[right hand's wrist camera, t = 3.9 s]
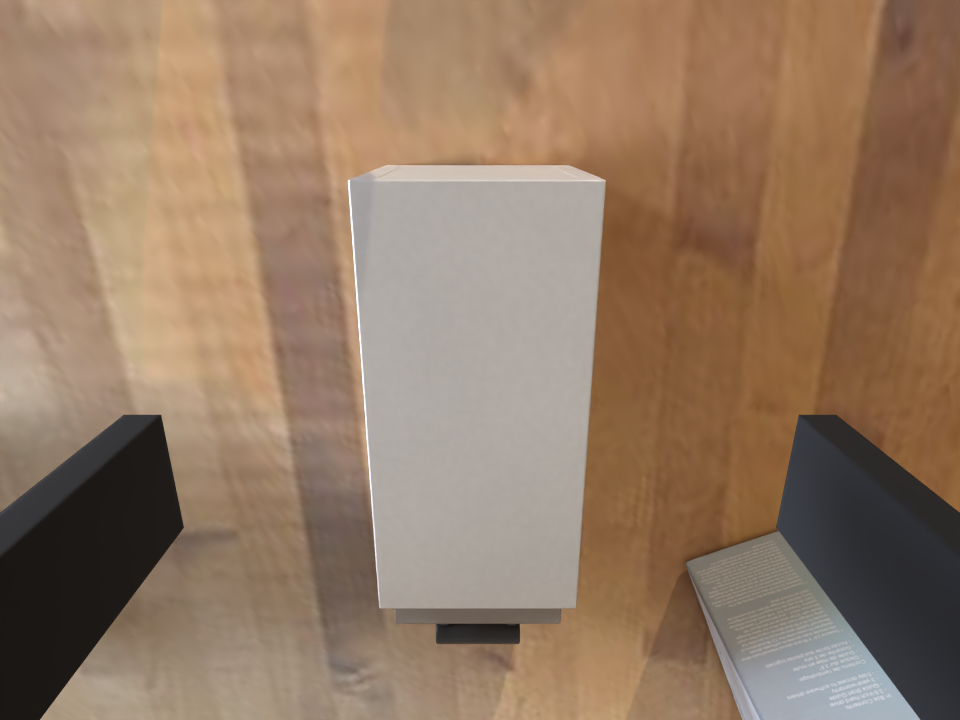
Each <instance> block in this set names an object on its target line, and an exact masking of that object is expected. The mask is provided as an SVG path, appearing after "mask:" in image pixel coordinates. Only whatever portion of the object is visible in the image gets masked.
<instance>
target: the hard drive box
mask: <svg viewBox="0 0 960 720" xmlns="http://www.w3.org/2000/svg"><path fill="white" fill-rule="evenodd" d="M686 566H687V570H688V572H689V575H690V578H691V580H692V583H693V586H694V588H695V591H696V594H697V597H698V599H699V602H700V605H701V607H702V610H703V613H704V615H705V618H706V621H707V624H708V627H709V630H710V632H711V635H712V638H713V641H714V643H715V646H716V649H717V652H718V654H719V657H720V660H721V663H722V666H723V668H724V671H725V674H726V677H727V679H728V682H729V685H730V687H731V690H732V693H733V696H734V698H735V701H736V704H737V706H738V709H739V712H740V714H741V716H742V719H743V720H920V719H919V717H918V716H917V715H916V713H915V712H914V711H913V709H912V708H911V707H910V705H909V704H908V703H907V701H906V700H905V699H904V697H903V696H902V695H901V693H900V692H899V691H898V689H897V688H896V687H895V685H894V684H893V683H892V681H891V680H890V679H889V677H888V676H887V675H886V673H885V672H884V671H883V669H882V668H881V667H880V665H879V664H878V663H877V661H876V660H875V659H874V657H873V656H872V655H871V653H870V652H869V651H868V649H867V648H866V647H865V645H864V644H863V643H862V641H861V640H860V639H859V637H858V636H857V635H856V633H855V632H854V631H853V629H852V628H851V627H850V625H849V624H848V623H847V621H846V620H845V619H844V617H843V616H842V615H841V613H840V612H839V611H838V609H837V608H836V607H835V605H834V604H833V603H832V601H831V600H830V599H829V597H828V596H827V595H826V593H825V592H824V591H823V589H822V588H821V587H820V585H819V584H818V583H817V581H816V580H815V579H814V577H813V576H812V575H811V573H810V572H809V571H808V569H807V568H806V567H805V565H804V564H803V563H802V561H801V560H800V559H799V557H798V556H797V555H796V553H795V552H794V551H793V549H792V548H791V547H790V545H789V544H788V543H787V541H786V540H785V539H784V537H783V536H782V535H781V533H780V532H779V531H777V532H773V533H770V534H768V535H765V536H762V537H759V538H756V539H753V540H750V541H746V542H743V543H740V544H737V545H734V546H731V547H728V548H725V549H722V550H719V551H716V552H714V553H711V554H708V555H705V556H702V557H699V558H696V559H693V560H690V561H688V562H687V563H686Z"/></svg>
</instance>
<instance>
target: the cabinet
mask: <svg viewBox="0 0 960 720" xmlns="http://www.w3.org/2000/svg"><path fill="white" fill-rule="evenodd" d="M348 185H349V199H350V213H351V226H352V240H353V254H354V268H355V281H356V295H357V309H358V322H359V336H360V350H361V364H362V377H363V391H364V405H365V418H366V432H367V446H368V460H369V473H370V487H371V501H372V514H373V528H374V542H375V556H376V569H377V583H378V597H379V608H380V609H575V608H576V600H577V586H578V572H579V558H580V544H581V529H582V515H583V501H584V487H585V473H586V459H587V444H588V430H589V416H590V402H591V388H592V373H593V359H594V345H595V331H596V317H597V303H598V288H599V274H600V260H601V246H602V232H603V218H604V203H605V189H606V180H604V179H601V178H600V177H597V176H595V175H592V174H590V173H587V172H585V171H582V170H579V169H577V168H574V167H572V166H569V165H386V166H384V167H381V168H378V169H376V170H373V171H370V172H368V173H365V174H363V175H360V176H357V177H355V178H353V179H350V180H349V181H348Z"/></svg>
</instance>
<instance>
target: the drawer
mask: <svg viewBox="0 0 960 720" xmlns="http://www.w3.org/2000/svg"><path fill="white" fill-rule="evenodd" d="M394 615H395V623H396V624H436V643H437V644H519V643H520V624H559V623H560V622H561V609H394Z"/></svg>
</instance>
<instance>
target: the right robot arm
mask: <svg viewBox="0 0 960 720" xmlns="http://www.w3.org/2000/svg"><path fill="white" fill-rule="evenodd" d="M183 528H184V526H183V521H182V516H181V511H180V506H179V501H178V496H177V491H176V487H175V482H174V477H173V472H172V467H171V462H170V457H169V452H168V447H167V442H166V437H165V432H164V427H163V422H162V417H161V415H123V416H122V417H121V418H119V419H118V420H117V421H116V422H114V423H113V424H112V425H111V426H109V427H108V428H107V429H105V430H104V431H103V432H102V433H100V434H99V435H98V436H97V437H95V438H94V439H93V440H92V441H90V442H89V443H88V444H87V445H85V446H84V447H83V448H81V449H80V450H79V451H78V452H76V453H75V454H74V455H73V456H71V457H70V458H69V459H68V460H66V461H65V462H64V463H63V464H61V465H60V466H59V467H58V468H56V469H55V470H54V471H52V472H51V473H50V474H49V475H47V476H46V477H45V478H44V479H42V480H41V481H40V482H39V483H37V484H36V485H35V486H34V487H32V488H31V489H30V490H28V491H27V492H26V493H25V494H23V495H22V496H21V497H20V498H18V499H17V500H16V501H15V502H13V503H12V504H11V505H10V506H8V507H7V508H6V509H5V510H3V511H2V512H1V513H0V720H40V719H41V717H42V716H43V715H44V713H45V712H46V711H47V709H48V708H49V707H50V705H51V704H52V703H53V701H54V700H55V699H56V697H57V696H58V695H59V693H60V692H61V691H62V689H63V688H64V687H65V685H66V684H67V683H68V681H69V680H70V679H71V677H72V676H73V675H74V673H75V672H76V671H77V669H78V668H79V667H80V665H81V664H82V663H83V661H84V660H85V659H86V657H87V656H88V655H89V653H90V652H91V651H92V649H93V648H94V647H95V645H96V644H97V643H98V641H99V640H100V639H101V637H102V636H103V635H104V633H105V632H106V631H107V629H108V628H109V627H110V625H111V624H112V623H113V621H114V620H115V619H116V617H117V616H118V615H119V613H120V612H121V611H122V609H123V608H124V607H125V605H126V604H127V603H128V601H129V600H130V599H131V597H132V596H133V595H134V593H135V592H136V591H137V589H138V588H139V587H140V585H141V584H142V583H143V581H144V580H145V579H146V577H147V576H148V575H149V573H150V572H151V571H152V569H153V568H154V567H155V565H156V564H157V563H158V561H159V560H160V559H161V557H162V556H163V555H164V553H165V552H166V551H167V549H168V548H169V547H170V545H171V544H172V543H173V541H174V540H175V539H176V537H177V536H178V535H179V533H180V532H181V531H182V529H183ZM776 528H777V529H778V531H779V532H780V533H781V535H782V536H783V537H784V539H785V540H786V541H787V543H788V544H789V545H790V547H791V548H792V549H793V551H794V552H795V553H796V555H797V556H798V557H799V559H800V560H801V561H802V563H803V564H804V565H805V567H806V568H807V569H808V571H809V572H810V573H811V575H812V576H813V577H814V579H815V580H816V581H817V583H818V584H819V585H820V587H821V588H822V589H823V591H824V592H825V593H826V595H827V596H828V597H829V599H830V600H831V601H832V603H833V604H834V605H835V607H836V608H837V609H838V611H839V612H840V613H841V615H842V616H843V617H844V619H845V620H846V621H847V623H848V624H849V625H850V627H851V628H852V629H853V631H854V632H855V633H856V635H857V636H858V637H859V639H860V640H861V641H862V643H863V644H864V645H865V647H866V648H867V649H868V651H869V652H870V653H871V655H872V656H873V657H874V659H875V660H876V661H877V663H878V664H879V665H880V667H881V668H882V669H883V671H884V672H885V673H886V675H887V676H888V677H889V679H890V680H891V681H892V683H893V684H894V685H895V687H896V688H897V689H898V691H899V692H900V693H901V695H902V696H903V697H904V699H905V700H906V701H907V703H908V704H909V705H910V707H911V708H912V709H913V711H914V712H915V713H916V715H917V716H918V717H919V719H920V720H960V513H959V512H958V511H957V510H955V509H954V508H953V507H952V506H950V505H949V504H948V503H947V502H945V501H944V500H943V499H942V498H940V497H939V496H938V495H937V494H935V493H934V492H933V491H932V490H930V489H929V488H928V487H926V486H925V485H924V484H923V483H921V482H920V481H919V480H918V479H916V478H915V477H914V476H913V475H911V474H910V473H909V472H908V471H906V470H905V469H904V468H902V467H901V466H900V465H899V464H897V463H896V462H895V461H894V460H892V459H891V458H890V457H889V456H887V455H886V454H885V453H884V452H882V451H881V450H880V449H879V448H877V447H876V446H875V445H873V444H872V443H871V442H870V441H868V440H867V439H866V438H865V437H863V436H862V435H861V434H860V433H858V432H857V431H856V430H855V429H853V428H852V427H851V426H849V425H848V424H847V423H846V422H844V421H843V420H842V419H841V418H839V417H838V416H837V415H799V417H798V422H797V427H796V432H795V437H794V442H793V447H792V452H791V457H790V462H789V467H788V472H787V477H786V482H785V487H784V491H783V496H782V501H781V506H780V511H779V516H778V521H777V526H776Z"/></svg>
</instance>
